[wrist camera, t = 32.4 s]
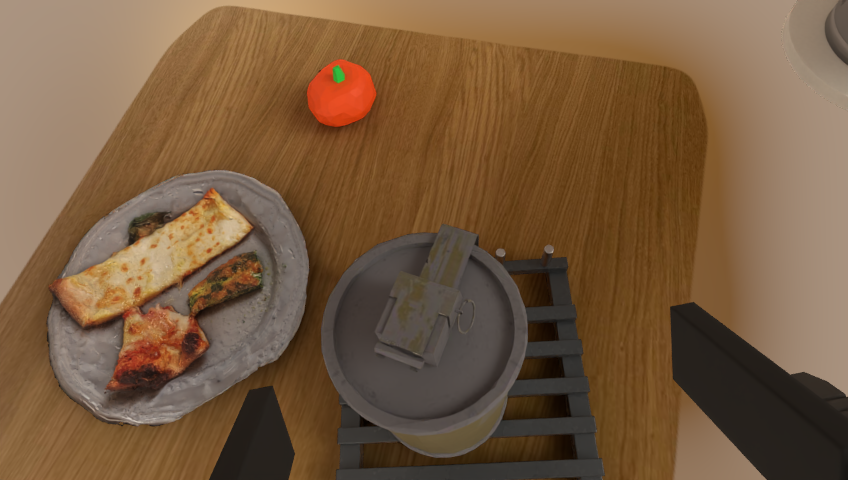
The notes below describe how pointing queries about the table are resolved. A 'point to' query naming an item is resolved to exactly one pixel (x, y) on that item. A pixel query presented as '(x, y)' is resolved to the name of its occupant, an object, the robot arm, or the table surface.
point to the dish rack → (572, 384)
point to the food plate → (177, 298)
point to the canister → (427, 340)
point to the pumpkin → (341, 93)
